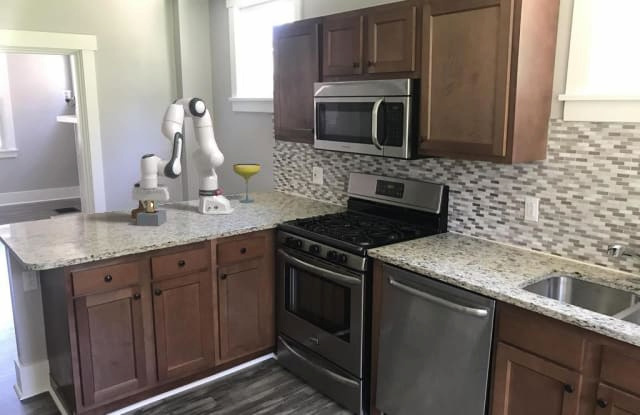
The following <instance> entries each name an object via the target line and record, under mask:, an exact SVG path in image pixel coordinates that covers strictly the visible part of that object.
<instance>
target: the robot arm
mask: <svg viewBox="0 0 640 415" xmlns="http://www.w3.org/2000/svg"><path fill="white" fill-rule="evenodd" d="M206 107H207V106H206V103H205V101H204V100H203V99H202V98H199V97H184V98H177V99H176V100H174V101H173V102H172V103H171V104H169V105H168V106H167V108H166V109H165V113H164V115H163V118H162V123H161V130H160V131H161V133H162V134H163V137H164V138H166V139H168V140H169V141H170V143H171V150H170V152H171V153H170V157H169V159H164V158H160V157H158V156H156V154H154V153H149V154H147V153H146V154H144V155H143V156H142V155H141V158H140V173H141V178H140V181H136V182H134V183H133V184H132V187H133V188H132V190H131V198H132V200H133V201H139V200H141V202H142V204H143V205H144V208H147V205H146V204H145V201H147V200H150V201H154V202H156V203H157V204H156V205H154V207H155V210H160V209H159V208H160V204H161V202H168V201H169V200H170V193H169V188H170V187H169V186H168V185H167V184H164V183H163V184H161V183H159V177H162V178H163V177H164V178H167V179H172V180H173V179H174V180H175V179H178V178H179V177H180V176H181V173H182V171H183V168H182V167H183V165H182V162H183V161H182V160H183V159H182V158H183V152H184V151H183V150H184V136H183V126H184V120H185V118H191V119H192V125H193V132H194V137H195V141H196V143H197V144H198V146H199V147H198V148H196V149H195V150H193V152H192V154H191V158H192V161H193V162H194V164H195V166H196V170H197V174H198V180H199V182H198V183H199V189H198V196H199V197H198V198H199V203H198V209H197V212H198V213H200V214H203V215H230V214H232V213H234V212H235V208H234V207H232V206H231V202H230V200H229V199H227V198H226V197H225V196H224V195H223V194H222V189H219V184H218V179H219V178H218V174H217V173H216V171H215V169H214V168H219V167H221V166H222V165H223V164H224V162H225V157H224V154H223V153H222V152H221V151H220V148H219V147H218V144H217V142H216V139H215V134H214V128H213V121H212V117H211V114H210V111H209V110H208V108H206Z"/></svg>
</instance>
